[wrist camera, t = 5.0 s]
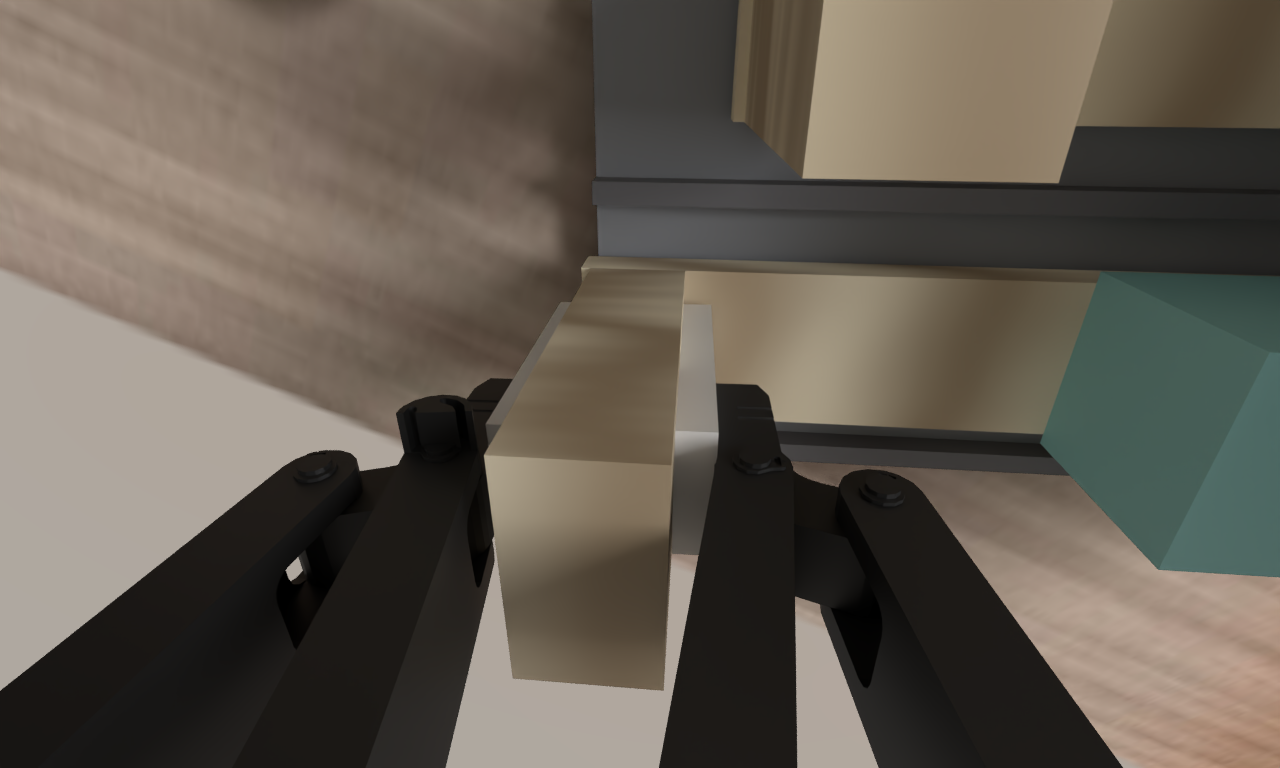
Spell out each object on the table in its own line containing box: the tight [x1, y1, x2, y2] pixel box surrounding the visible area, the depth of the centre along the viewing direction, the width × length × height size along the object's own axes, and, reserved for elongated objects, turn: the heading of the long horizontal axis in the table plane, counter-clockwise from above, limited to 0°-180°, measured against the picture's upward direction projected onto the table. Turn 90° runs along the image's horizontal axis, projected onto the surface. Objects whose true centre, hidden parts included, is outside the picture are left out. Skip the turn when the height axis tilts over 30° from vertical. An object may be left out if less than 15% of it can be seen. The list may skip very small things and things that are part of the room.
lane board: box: [592, 0, 1280, 476], centre depth 16 cm, size 24×16×2 cm, turn 90°
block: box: [1040, 271, 1280, 577], centre depth 14 cm, size 5×5×5 cm
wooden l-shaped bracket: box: [484, 256, 1280, 690], centre depth 13 cm, size 20×4×10 cm, turn 90°
